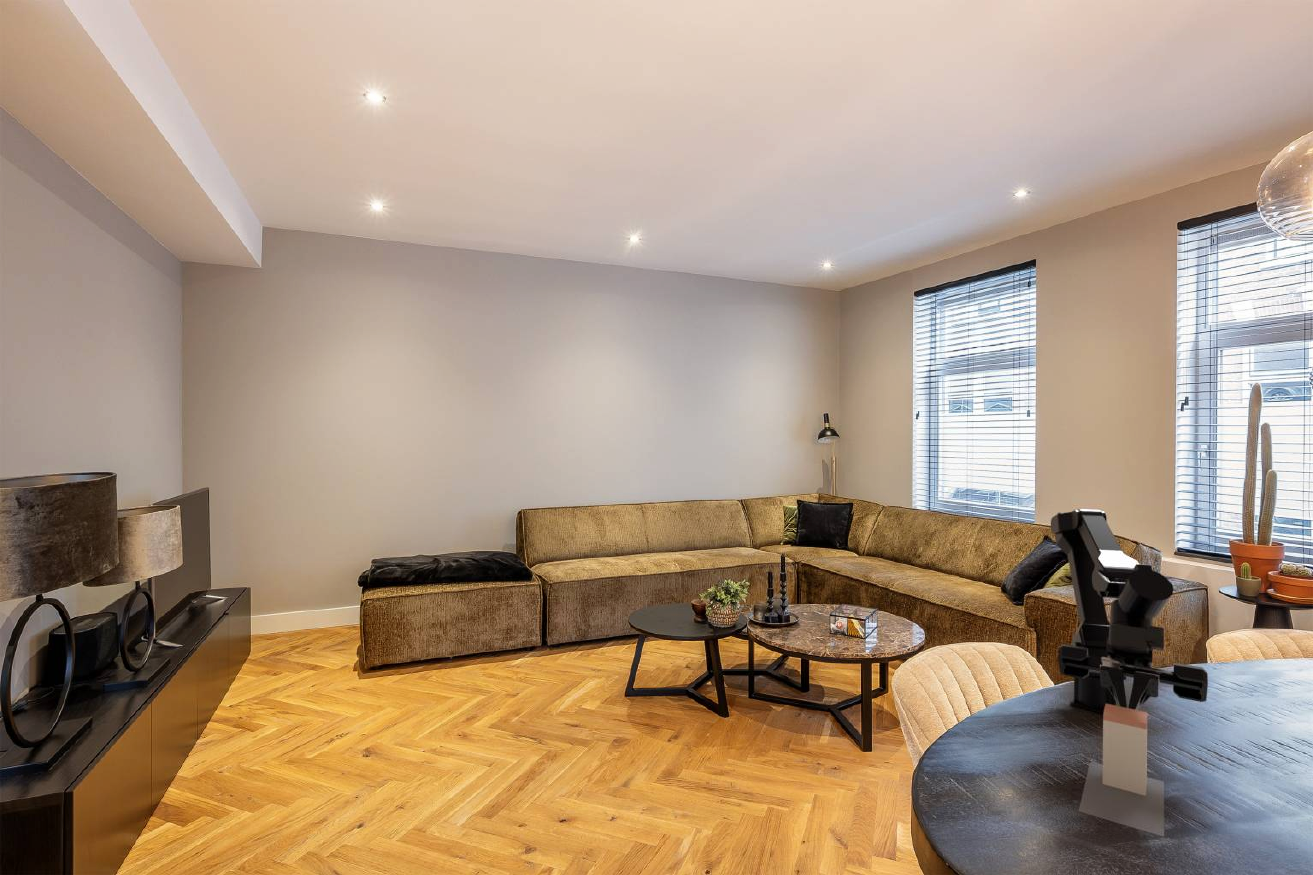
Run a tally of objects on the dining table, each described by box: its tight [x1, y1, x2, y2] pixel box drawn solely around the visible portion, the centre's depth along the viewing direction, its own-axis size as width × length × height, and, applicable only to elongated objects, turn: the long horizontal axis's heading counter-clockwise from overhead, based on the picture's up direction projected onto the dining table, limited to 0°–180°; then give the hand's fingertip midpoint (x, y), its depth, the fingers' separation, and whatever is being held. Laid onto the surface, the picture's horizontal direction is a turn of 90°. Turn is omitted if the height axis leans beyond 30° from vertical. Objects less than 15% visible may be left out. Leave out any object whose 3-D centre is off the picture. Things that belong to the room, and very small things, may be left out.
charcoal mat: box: [1078, 762, 1165, 838], centre depth 91 cm, size 17×9×1 cm, turn 142°
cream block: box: [1102, 704, 1148, 796], centre depth 95 cm, size 5×5×10 cm
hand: (1127, 722), depth 98 cm, fingers closed
